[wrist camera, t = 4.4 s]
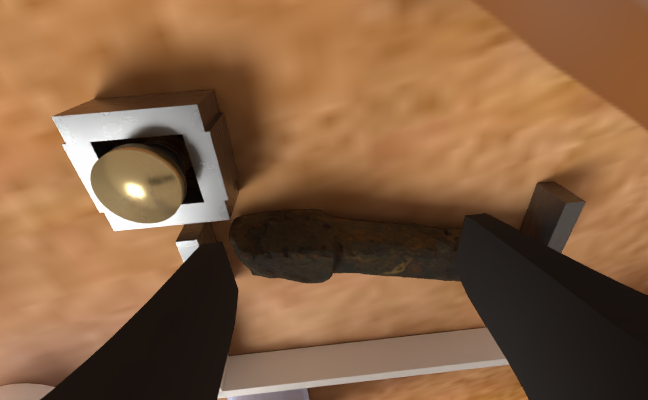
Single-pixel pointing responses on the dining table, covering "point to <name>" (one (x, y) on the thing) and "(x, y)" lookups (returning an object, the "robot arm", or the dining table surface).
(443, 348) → the white u-shaped bracket
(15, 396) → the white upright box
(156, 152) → the release plunger
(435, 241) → the hand tool
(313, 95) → the dining table surface
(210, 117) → the tool holder
